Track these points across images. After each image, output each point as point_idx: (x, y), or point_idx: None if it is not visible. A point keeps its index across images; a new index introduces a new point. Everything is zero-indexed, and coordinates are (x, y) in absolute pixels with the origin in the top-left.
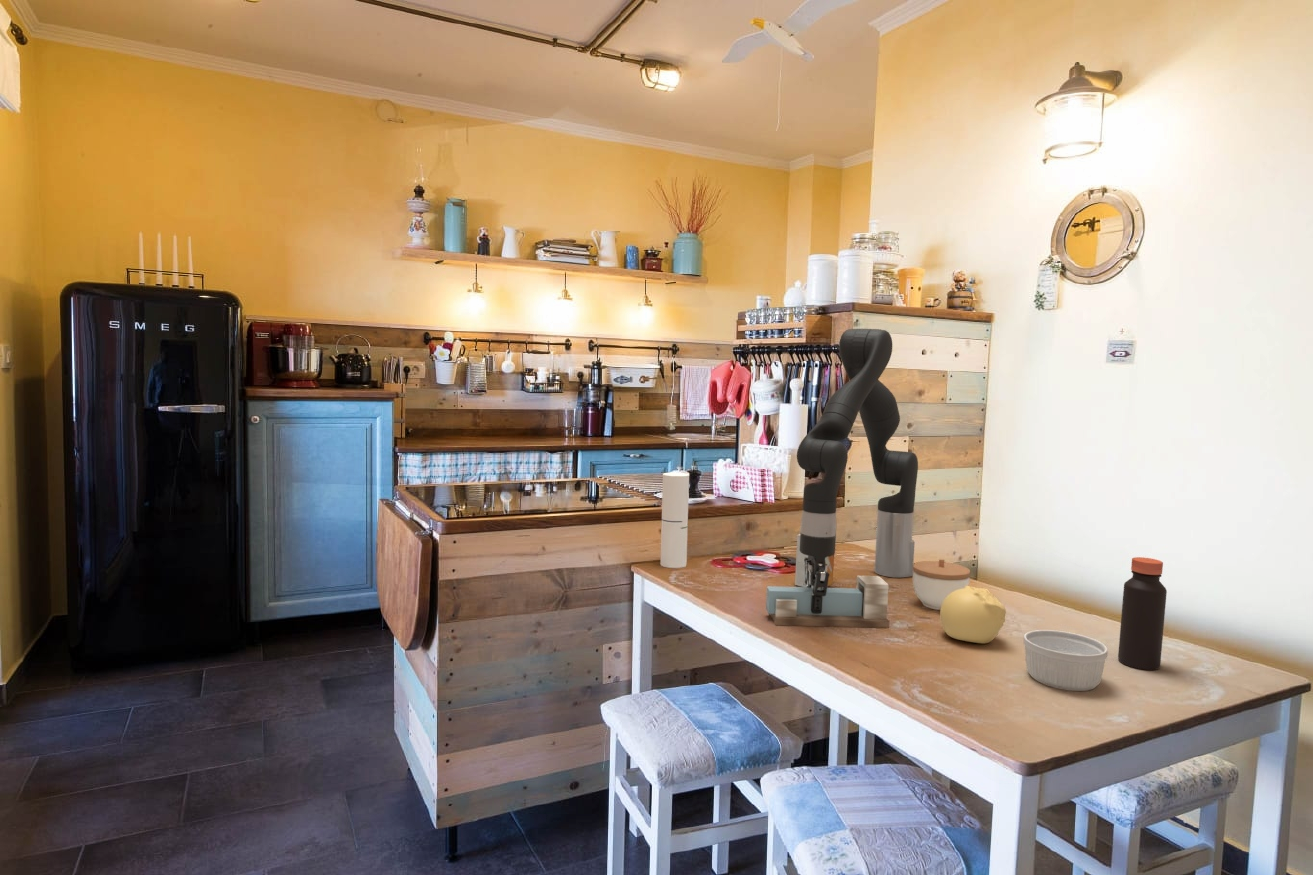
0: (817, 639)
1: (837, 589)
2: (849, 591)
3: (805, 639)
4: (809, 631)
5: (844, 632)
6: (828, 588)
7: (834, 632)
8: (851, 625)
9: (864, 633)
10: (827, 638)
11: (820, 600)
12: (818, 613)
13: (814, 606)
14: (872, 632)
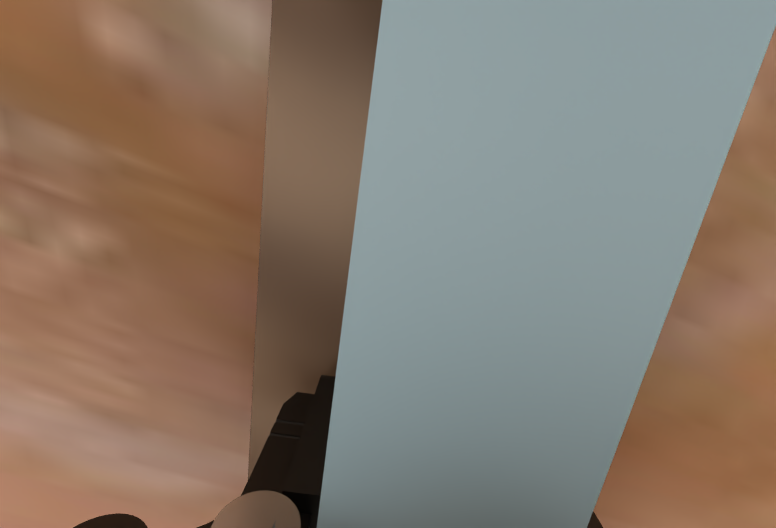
0: (756, 468)
1: (446, 290)
2: (627, 88)
3: (733, 523)
4: (621, 467)
5: (700, 270)
6: (369, 421)
7: (679, 335)
8: None
9: (767, 128)
10: (762, 413)
11: (592, 522)
12: None
13: None
14: (770, 46)
